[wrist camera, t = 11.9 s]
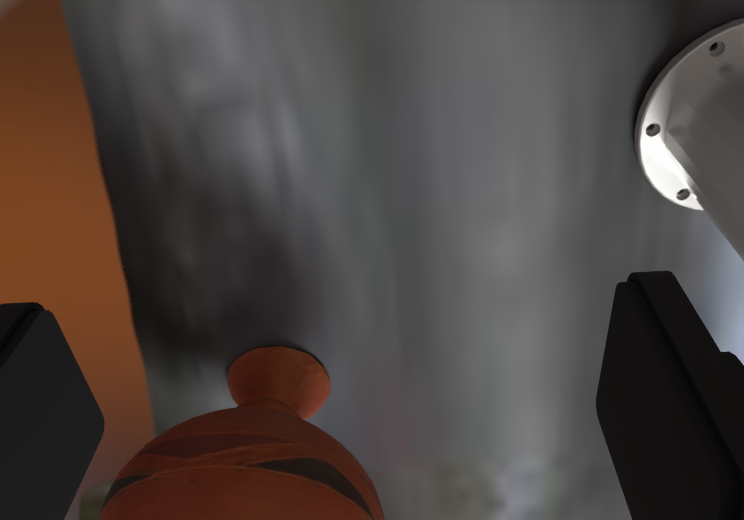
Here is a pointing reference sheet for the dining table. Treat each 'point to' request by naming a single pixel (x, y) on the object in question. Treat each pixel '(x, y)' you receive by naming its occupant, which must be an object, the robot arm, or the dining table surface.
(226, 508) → the goblet
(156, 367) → the dining table surface
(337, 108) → the dining table surface
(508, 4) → the dining table surface
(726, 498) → the robot arm
